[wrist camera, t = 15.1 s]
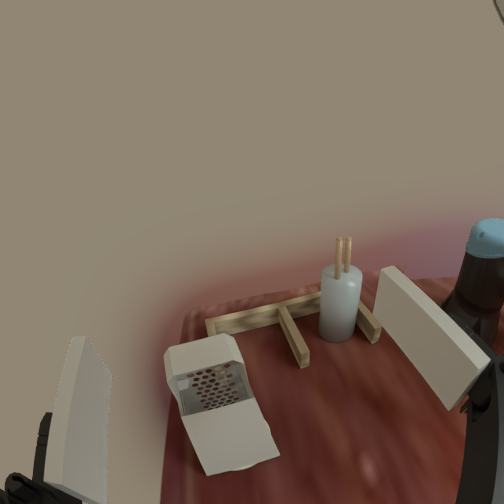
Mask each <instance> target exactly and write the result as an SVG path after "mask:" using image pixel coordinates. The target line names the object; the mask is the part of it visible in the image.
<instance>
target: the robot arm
mask: <svg viewBox="0 0 504 504" xmlns="http://www.w3.org/2000/svg"><path fill="white" fill-rule="evenodd" d="M493 3H494V6H495V8H496V10H497V13H498V15H499V17H500V19H501V21H502V23H503V24H504V0H493ZM503 303H504V220H503V219H496V218H489V219H483V220H480V221H478V222H476V223H475V224H474V225H473V227H472V229H471V233H470V236H469V239H468V242H467V243H466V252H465V256H464V259H463V263H462V266H461V269H460V272H459V276H458V279H457V282H456V285H455V288H454V289H453V291H452V292H451V293H450V294H449V296H448V297H447V298H446V300H445V301H444V302H443V303H442V305H441V306H440V307H439V306H438V305H437V304H436V303H435V302H433V301H432V300H431V299H430V298H429V297H428V296H427V295H426V294H425V293H424V292H423V291H422V290H421V289H419V288H418V287H417V286H416V285H415V284H414V283H413V282H412V281H411V280H409V279H408V278H407V277H406V276H405V275H404V274H403V273H402V272H400V271H399V270H398V269H397V268H396V267H395V266H389V267H386V268H383V269H381V271H380V277H379V283H378V289H377V294H376V299H375V305H374V310H373V315H374V317H375V318H376V319H377V320H378V321H379V323H380V324H381V325H382V326H383V327H384V329H385V330H386V331H387V332H388V334H389V335H390V336H391V337H392V338H393V340H394V341H395V342H396V343H397V345H398V346H399V347H400V348H401V350H402V351H403V352H404V353H405V355H406V356H407V357H408V358H409V360H410V361H411V362H412V363H413V365H414V366H415V367H416V369H417V370H418V371H419V372H420V374H421V375H422V376H423V378H424V379H425V380H426V382H427V383H428V384H429V385H430V387H431V388H432V389H433V391H434V392H435V393H436V395H437V396H438V397H439V399H440V400H441V401H442V403H443V404H444V406H445V407H446V408H447V410H448V411H450V410H451V409H452V408H454V407H455V406H456V405H458V404H459V403H460V402H461V401H462V400H463V399H464V397H465V396H466V395H467V394H468V396H469V398H468V400H467V401H466V402H465V403H464V405H463V406H462V407H461V410H460V413H462V412H463V411H464V410H465V409H466V408H467V410H466V411H465V413H467V427H466V440H465V450H464V459H463V466H462V473H461V479H460V484H459V489H458V494H457V499H456V503H455V504H504V355H501V356H498V355H497V354H496V353H495V352H494V351H493V350H492V349H491V348H490V347H489V346H490V345H491V344H492V342H493V340H494V338H495V336H496V334H497V329H498V324H499V317H500V310H501V308H502V305H503ZM111 385H112V375H111V373H110V372H109V370H108V369H107V367H106V366H105V364H104V363H103V361H102V360H101V358H100V356H99V355H98V353H97V352H96V350H95V349H94V347H93V345H92V344H91V342H90V341H89V339H88V338H87V336H78V337H72V339H71V342H70V346H69V349H68V352H67V356H66V360H65V363H64V367H63V370H62V374H61V378H60V383H59V386H58V390H57V395H56V400H55V404H54V409H53V413H49V412H46V414H45V416H44V417H43V419H42V421H41V423H40V428H39V433H38V435H39V437H38V439H37V446H36V452H35V460H34V468H33V477H32V480H30V479H28V478H27V477H25V476H23V475H22V474H20V473H15V472H14V473H12V474H10V475H9V476H8V477H7V479H6V482H5V491H3V490H2V489H0V504H82V501H84V502H86V503H88V504H108V498H107V436H108V418H109V405H110V394H111Z"/></svg>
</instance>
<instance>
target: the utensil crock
mask: <svg viewBox="0 0 504 504" xmlns="http://www.w3.org/2000/svg"><path fill="white" fill-rule="evenodd" d="M342 243H343V239H342V238H341V237H337V238H336V255H335V264H332V265H330V266H327V267H326V268H324V269H323V271H322V274H321V275H322V276H321V297H320V315H319V334H320V336H321V337H322V338H323V339H324V340H326V341H328V342H332V343H342V342H345V341H347V340H349V339H350V338H351V337H352V336H353V333H354V328H355V323H356V317H357V311H358V305H359V298H360V291H361V284H362V273H361V271H360V270H359V269H358V268H356V267H355V266H352V265H350V258H351V244H352V238H351V237H347V238H346V244H345V260H344V264H343V263H341V259H342Z"/></svg>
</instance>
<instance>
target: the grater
mask: <svg viewBox="0 0 504 504" xmlns="http://www.w3.org/2000/svg"><path fill="white" fill-rule="evenodd" d="M164 363H165V370H166V377H167V384H168V386H169V388H170V389H171V391H172V393H173V395H174V396H175V398H176V400H177V401H178V405H179V410H180V415H181V419H182V421H183V423H184V426H185V428H186V431H187V433H188V436H189V438H190V440H191V442H192V445H193V447H194V449H195V452H196V454H197V456H198V458H199V460H200V462H201V465H202V467H203V469H204V471H205V473H206V475H207V476H209V475H214V474H218V473H222V472H226V471H230V470H234V469H238V468H241V467H245V466H248V465H252V464H255V463H258V462H262V461H265V460H268V459H271V458H274V457H277V456H280V453H279V451H278V449H277V447H276V445H275V443H274V440H273V438H272V436H271V434H270V431H269V429H268V427H267V425H266V422H265V420H264V418H263V415H262V413H261V411H260V409H259V406H258V404H257V401H256V399H255V397H254V394H253V392H252V390H251V387H250V385H249V382H248V377H247V373H246V368H245V363H244V361H243V359H242V356H241V354H240V351H239V349H238V346H237V344H236V341H235V339H234V337H232V336H229V335H227V334H225V333H222V334H218V335H215V336H211V337H207V338H204V339H200V340H196V341H192V342H188V343H184V344H180V345H176V346H172V347H169V348H168V350H167V351H166V353H165V354H164ZM225 364H230V367H228V368H224V365H225ZM218 366H220V367H221V369H220V370H218V371H216V370H214V369H215V367H218ZM207 369H211V370H212V372H210V373H206V372H205V371H206V370H207ZM223 370H225V371H227V372H226V373H225V374H220V372H221V371H223ZM199 371H201V372H203V374H202V375H196V373H197V372H199ZM213 373H217V374H218V375H217V376H215V377H212V376H211V374H213ZM188 374H194V376H193V377H191V378H189V377H187V375H188ZM229 374H233V376H232V377H230V378H227V377H226V376H227V375H229ZM204 375H207V376H209V377H208V378H207V379H202V376H204ZM222 376H223V377H224V379H223V380H218V378H219V377H222ZM194 378H200V380H199V381H193V379H194ZM211 379H215V382H212V383H211V382H209V380H211ZM225 380H229V382H228V383H223V381H225ZM203 381H206V382H207V383H206V384H205V385H201V384H200V383H201V382H203ZM217 382H220V383H221V384H220V385H218V386H215V385H214V384H215V383H217ZM195 383H197V384H198V386H197V387H193V386H192V384H195ZM230 383H235V385H233V386H229V384H230ZM207 385H212V387H211V388H206V386H207ZM223 385H227V387H226V388H221V386H223ZM199 387H204V389H203V390H198V389H197V388H199ZM215 387H218V388H219V389H218V390H216V391H213V390H212V389H213V388H215ZM227 388H231V390H230V391H225V390H226V389H227ZM208 389H209V390H210V392H208V393H205V392H204V391H205V390H208ZM179 390H180V391H179ZM220 390H223V391H224V392H223V393H218V391H220ZM233 391H237V393H235V394H232V392H233ZM197 392H202V394H200V395H197V394H196V393H197ZM213 392H214V393H215V395H213V396H210V395H209V394H210V393H213ZM225 393H229V395H228V396H224V394H225ZM180 394H181V397H180ZM202 395H207V397H205V398H202V397H201V396H202ZM218 395H221V397H220V398H216V396H218ZM229 396H234V397H233V398H231V399H229V398H228V397H229ZM210 397H213V398H214V399H213V400H208V398H210ZM237 397H239V399H238V400H233V399H234V398H237ZM222 398H226V400H224V401H221V399H222ZM181 399H182V402H181ZM202 399H205V400H206V401H205V402H200V400H202ZM214 400H218V402H216V403H213V401H214ZM227 400H232V401H231V402H226V401H227ZM184 402H185V404H184ZM206 402H211V404H209V405H206V404H205V403H206ZM219 402H224V403H223V404H218V403H219ZM232 402H236V403H234V404H230V403H232ZM182 404H183V407H182ZM212 404H217V405H216V406H211V405H212ZM224 404H228V405H227V406H223V405H224ZM185 406H186V408H185ZM204 406H209V407H208V408H203V407H204ZM217 406H221V407H219V408H215V407H217ZM209 408H214V409H212V410H208V409H209ZM183 409H184V411H183ZM186 410H187V412H186ZM184 414H185V416H184Z"/></svg>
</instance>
